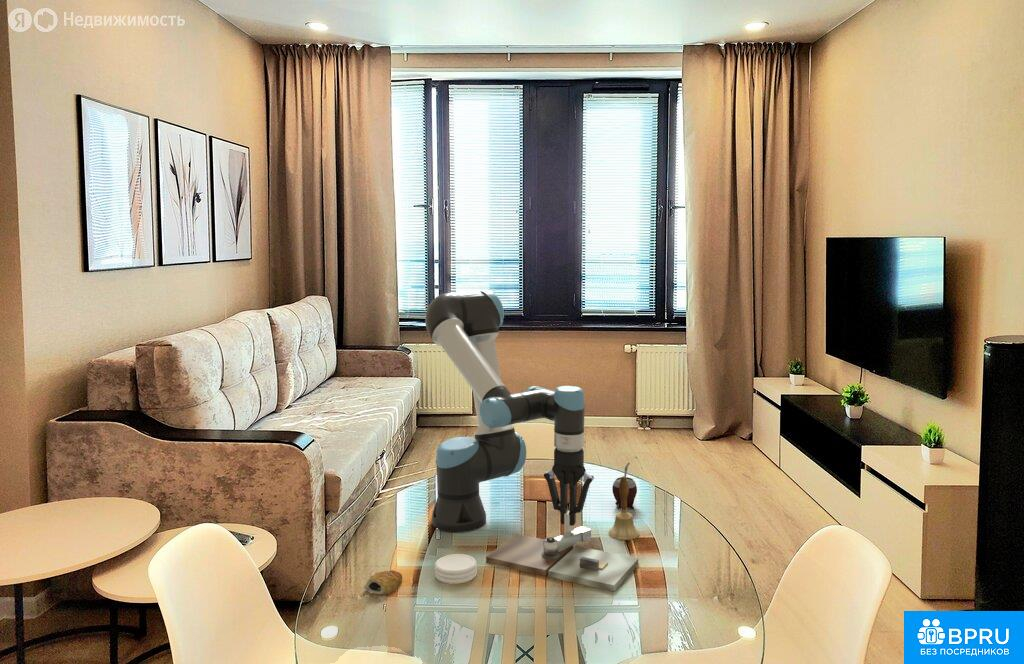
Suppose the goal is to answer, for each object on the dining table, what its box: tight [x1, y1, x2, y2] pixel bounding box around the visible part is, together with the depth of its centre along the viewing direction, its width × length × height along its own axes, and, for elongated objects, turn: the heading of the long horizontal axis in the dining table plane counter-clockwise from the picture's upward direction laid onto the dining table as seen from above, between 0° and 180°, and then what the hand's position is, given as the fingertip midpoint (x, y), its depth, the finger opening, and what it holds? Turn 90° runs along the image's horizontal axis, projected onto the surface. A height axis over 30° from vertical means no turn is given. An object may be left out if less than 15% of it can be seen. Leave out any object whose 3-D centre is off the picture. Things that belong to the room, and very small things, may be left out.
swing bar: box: [543, 525, 592, 556], centre depth 206 cm, size 15×4×4 cm, turn 132°
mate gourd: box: [611, 462, 638, 510], centre depth 237 cm, size 8×8×15 cm
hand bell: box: [607, 476, 641, 541], centre depth 217 cm, size 8×8×16 cm
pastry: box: [364, 569, 403, 596], centre depth 190 cm, size 9×7×4 cm
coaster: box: [434, 553, 478, 585], centre depth 196 cm, size 10×10×4 cm
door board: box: [485, 533, 639, 592], centre depth 201 cm, size 34×16×4 cm, turn 61°
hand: (568, 536), depth 209 cm, fingers closed
